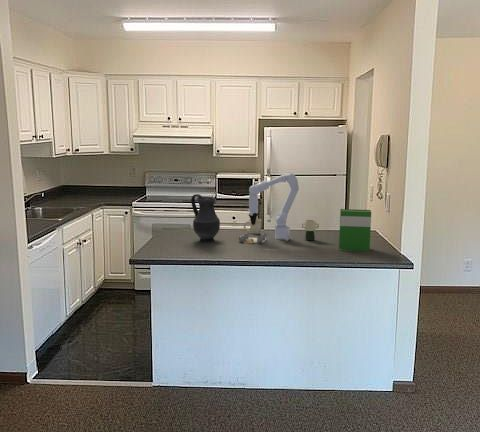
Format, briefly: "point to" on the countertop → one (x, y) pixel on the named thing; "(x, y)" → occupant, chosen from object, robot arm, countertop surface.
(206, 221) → the pitcher
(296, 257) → the countertop surface
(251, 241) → the faceted gold polyhedron
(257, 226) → the mug
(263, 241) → the plate
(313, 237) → the character mug
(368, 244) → the green cereal box
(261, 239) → the spacers
